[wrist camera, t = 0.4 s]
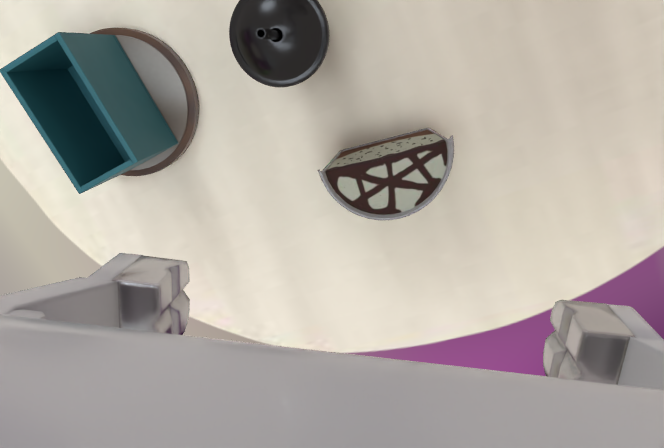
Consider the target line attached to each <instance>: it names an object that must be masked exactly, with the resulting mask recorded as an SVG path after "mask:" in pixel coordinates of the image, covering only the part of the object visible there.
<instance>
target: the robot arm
mask: <svg viewBox="0 0 664 448" xmlns="http://www.w3.org/2000/svg"><path fill="white" fill-rule="evenodd" d="M188 282H189V266H188V263H187V261H182V260H173V259H165V258H157V257H149V256H143V255H137V254H126V253H119V254H118V255H117V256H115V257H114V258H113V259H111V260H110V261H109V262H107V263H106V264H105V265H103V266H102V267H101V268H100V269H98V270H97V271H96V272H94V273H93V274H91V275H90V276H89V277H88V278H82V277H79V278H75V279H70V280H66V281H62V282H57V283H53V284H49V285H44V286H40V287H35V288H32V289H27V290H22V291H18V292H14V293H9V294H6V295H1V296H0V448H664V340H663V339H662V338H661V337H660V336H659V335H658V333H657V332H656V331H655V330H654V329H653V328H651V326H650V325H649V324H648V323H647V322H646V321H645V320H644V319H643V318H642V317H641V316H640V315H639V314H638V313H637V312H636V311H635V310H634V309H633V308H632V307H628V306H618V305H607V304H603V303H591V302H579V301H567V300H559V301H557V302H555V305H554V307H553V309H552V314H551V318H550V321H551V323H552V325H553V327H554V329H555V331H554V332H553V333H552V334H551V335H549V336H548V337H547V338H546V341H545V347H544V352H543V366H544V370H545V374H546V376H537V375H528V374H520V373H511V372H502V371H493V370H485V369H476V368H466V367H458V366H449V365H440V364H432V363H423V362H414V361H405V360H396V359H388V358H378V357H370V356H361V355H353V354H344V353H335V352H327V351H318V350H309V349H300V348H291V347H283V346H274V345H265V344H256V343H247V342H238V341H230V340H221V339H212V338H203V337H195V336H185V335H183V333H184V332H185V328H186V325H187V322H188V317H189V305H190V299H189V298H188V296H187V295H186V294H185V292H184V291H183V289H184V287H185V286H186V285H187V284H188Z"/></svg>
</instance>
